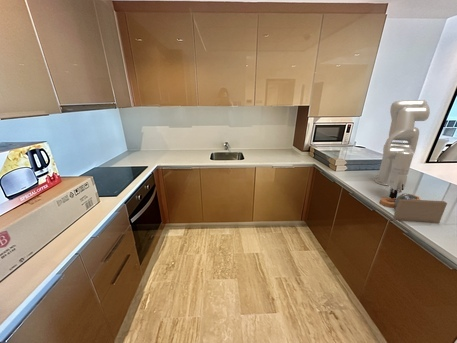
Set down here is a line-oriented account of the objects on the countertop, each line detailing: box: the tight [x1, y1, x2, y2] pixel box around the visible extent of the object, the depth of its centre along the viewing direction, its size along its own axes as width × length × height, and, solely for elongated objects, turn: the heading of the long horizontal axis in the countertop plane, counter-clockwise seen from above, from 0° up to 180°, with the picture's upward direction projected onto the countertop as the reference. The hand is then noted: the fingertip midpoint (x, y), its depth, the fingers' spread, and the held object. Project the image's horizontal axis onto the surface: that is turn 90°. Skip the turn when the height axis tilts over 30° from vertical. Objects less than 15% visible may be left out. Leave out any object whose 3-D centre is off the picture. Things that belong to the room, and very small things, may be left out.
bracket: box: [379, 193, 421, 209], centre depth 117 cm, size 18×8×7 cm, turn 69°
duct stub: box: [392, 193, 448, 224], centre depth 106 cm, size 12×20×12 cm, turn 78°
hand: (392, 197), depth 123 cm, fingers closed
